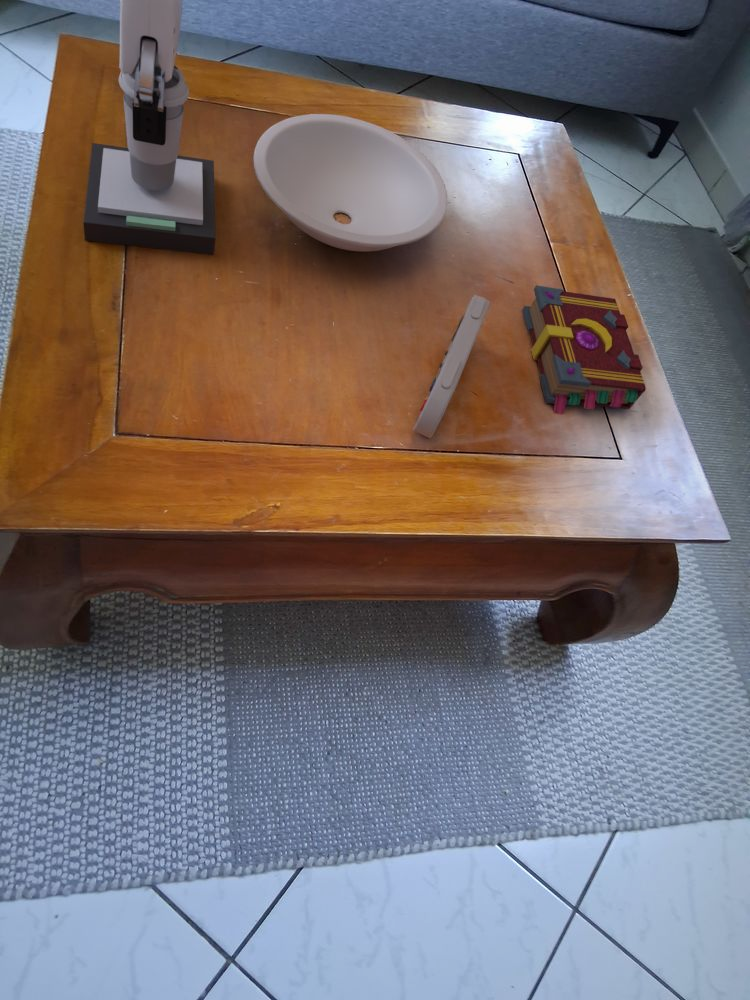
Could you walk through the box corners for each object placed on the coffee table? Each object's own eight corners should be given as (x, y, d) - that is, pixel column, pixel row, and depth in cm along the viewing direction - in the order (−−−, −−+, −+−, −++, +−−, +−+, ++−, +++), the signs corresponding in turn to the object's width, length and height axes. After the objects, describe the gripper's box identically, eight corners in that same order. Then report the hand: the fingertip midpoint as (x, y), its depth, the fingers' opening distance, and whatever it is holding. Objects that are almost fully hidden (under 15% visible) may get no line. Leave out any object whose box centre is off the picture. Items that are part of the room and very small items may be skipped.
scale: (213, 255, 88) (216, 232, 85) (84, 240, 84) (82, 216, 81) (212, 178, 95) (214, 154, 92) (93, 161, 91) (91, 136, 89)
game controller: (454, 330, 92) (479, 277, 85) (471, 338, 92) (497, 286, 85) (404, 443, 80) (428, 393, 74) (423, 452, 80) (449, 403, 74)
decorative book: (600, 322, 99) (619, 294, 95) (631, 420, 91) (654, 394, 87) (520, 311, 97) (537, 281, 92) (545, 412, 88) (565, 384, 84)
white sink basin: (216, 236, 90) (220, 188, 84) (287, 136, 104) (295, 89, 98) (403, 314, 91) (420, 272, 85) (450, 205, 105) (466, 163, 99)
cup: (196, 185, 87) (203, 83, 78) (151, 205, 84) (152, 101, 74) (154, 150, 89) (155, 46, 79) (107, 168, 85) (103, 62, 75)
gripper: (122, -126, 70) (125, 66, 84) (96, -35, 61) (104, 163, 75) (205, -103, 71) (195, 81, 86) (192, -12, 62) (183, 177, 77)
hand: (153, 118), depth 80 cm, fingers closed on cup, 7 cm apart
